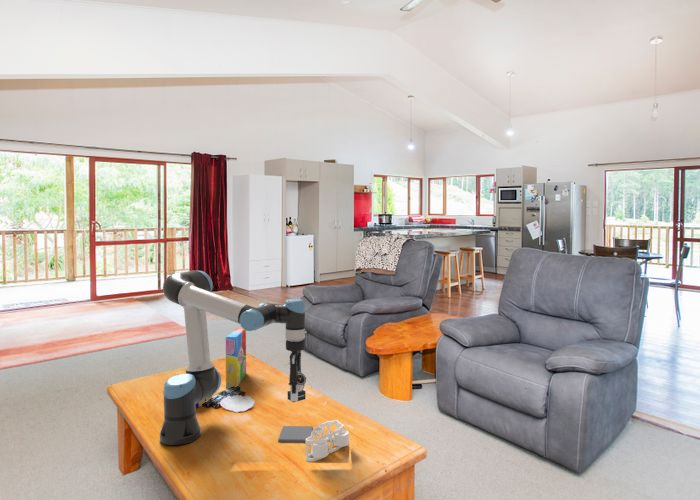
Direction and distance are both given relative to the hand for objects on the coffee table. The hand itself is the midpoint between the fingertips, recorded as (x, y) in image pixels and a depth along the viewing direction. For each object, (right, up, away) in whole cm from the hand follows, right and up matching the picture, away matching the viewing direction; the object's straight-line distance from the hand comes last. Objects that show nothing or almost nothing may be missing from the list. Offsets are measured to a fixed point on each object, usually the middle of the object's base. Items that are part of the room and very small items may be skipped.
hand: (295, 397), depth 180 cm
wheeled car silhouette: (+12, -16, -12) cm, 23 cm away
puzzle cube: (-50, -14, +35) cm, 63 cm away
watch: (0, -1, 0) cm, 1 cm away
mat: (0, -15, +1) cm, 15 cm away
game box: (-38, -13, +62) cm, 74 cm away
